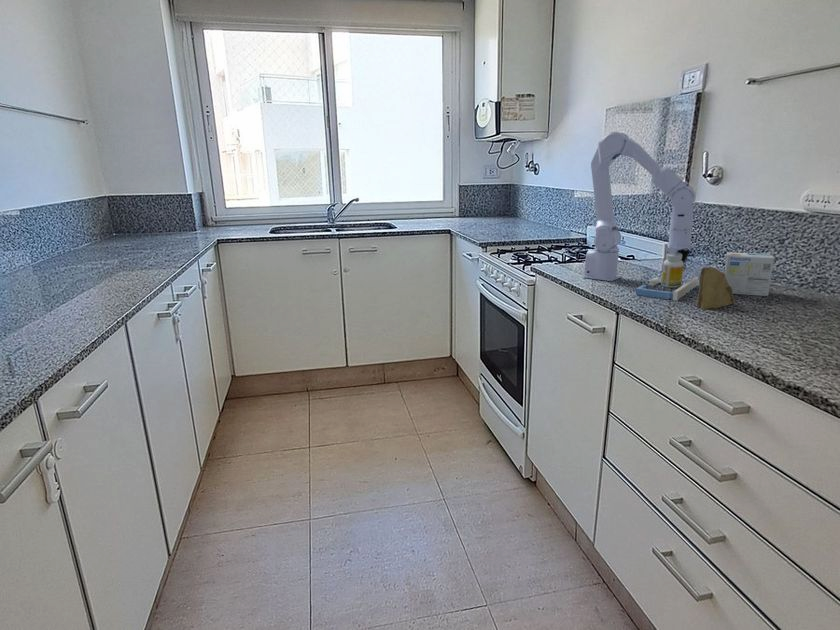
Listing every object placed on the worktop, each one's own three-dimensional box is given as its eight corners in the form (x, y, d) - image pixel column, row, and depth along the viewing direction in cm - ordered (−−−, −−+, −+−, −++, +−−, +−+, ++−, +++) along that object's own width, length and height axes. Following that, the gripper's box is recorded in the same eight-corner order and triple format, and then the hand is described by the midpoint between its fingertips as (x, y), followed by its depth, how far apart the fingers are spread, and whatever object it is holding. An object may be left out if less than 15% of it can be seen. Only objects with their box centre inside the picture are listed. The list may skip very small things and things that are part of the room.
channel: (633, 294, 142) (634, 286, 141) (657, 280, 157) (658, 273, 156) (676, 300, 135) (677, 291, 134) (697, 285, 150) (698, 277, 149)
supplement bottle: (657, 285, 151) (660, 254, 147) (667, 280, 154) (670, 250, 150) (675, 289, 147) (678, 258, 143) (684, 284, 150) (688, 253, 146)
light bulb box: (764, 291, 142) (771, 253, 139) (768, 296, 136) (775, 257, 133) (720, 288, 147) (726, 251, 143) (723, 293, 141) (728, 255, 138)
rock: (730, 291, 134) (690, 285, 136) (746, 270, 127) (703, 264, 129) (734, 324, 128) (693, 317, 130) (751, 304, 121) (706, 297, 123)
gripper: (689, 232, 140) (684, 281, 143) (702, 226, 150) (697, 271, 154) (662, 231, 144) (658, 278, 148) (676, 226, 155) (672, 269, 158)
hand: (676, 275), depth 151 cm, fingers closed, pressing on supplement bottle
